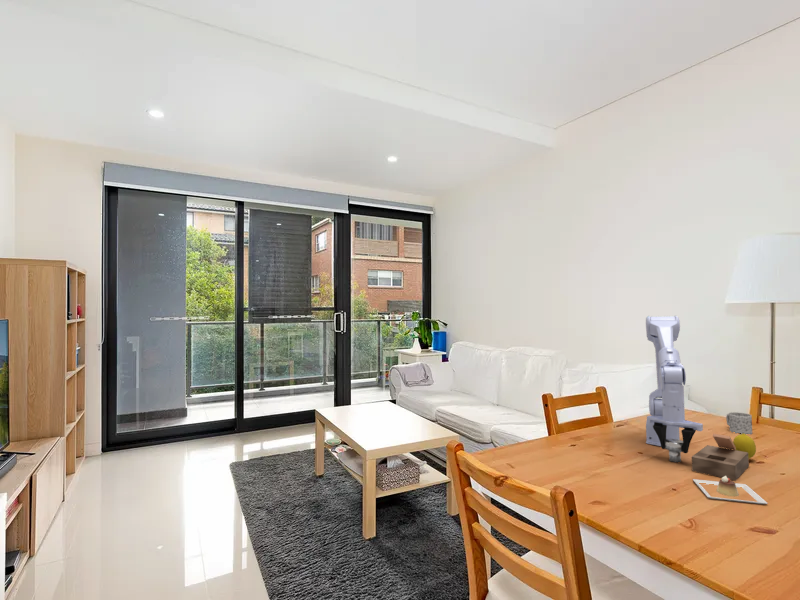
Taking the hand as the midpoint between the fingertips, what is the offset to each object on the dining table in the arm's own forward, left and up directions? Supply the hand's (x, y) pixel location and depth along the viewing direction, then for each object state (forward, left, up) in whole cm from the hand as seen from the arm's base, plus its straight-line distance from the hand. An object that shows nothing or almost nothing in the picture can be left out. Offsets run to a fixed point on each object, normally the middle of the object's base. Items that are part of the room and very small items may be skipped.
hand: (674, 450), depth 132 cm
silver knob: (0, 0, -3) cm, 3 cm away
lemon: (+14, +16, -3) cm, 22 cm away
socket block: (+11, +2, -3) cm, 12 cm away
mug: (+5, +54, -3) cm, 54 cm away
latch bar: (+11, +7, +3) cm, 13 cm away
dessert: (+16, -17, -4) cm, 24 cm away
